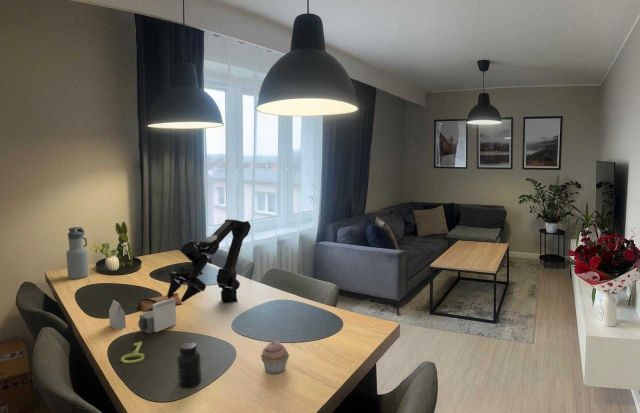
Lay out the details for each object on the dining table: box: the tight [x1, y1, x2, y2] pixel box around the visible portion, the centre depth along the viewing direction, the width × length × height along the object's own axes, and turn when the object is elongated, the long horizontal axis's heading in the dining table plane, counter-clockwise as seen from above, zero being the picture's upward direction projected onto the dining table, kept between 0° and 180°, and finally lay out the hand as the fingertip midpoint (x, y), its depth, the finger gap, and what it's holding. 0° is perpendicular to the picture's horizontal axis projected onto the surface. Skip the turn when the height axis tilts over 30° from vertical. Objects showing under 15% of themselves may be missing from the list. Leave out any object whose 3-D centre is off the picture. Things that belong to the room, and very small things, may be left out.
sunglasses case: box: [137, 292, 183, 313], centre depth 187 cm, size 18×7×7 cm, turn 125°
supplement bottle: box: [176, 341, 203, 389], centre depth 124 cm, size 7×7×12 cm
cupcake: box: [260, 339, 290, 375], centre depth 132 cm, size 9×9×10 cm
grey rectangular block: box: [137, 310, 155, 334], centre depth 163 cm, size 11×6×6 cm, turn 144°
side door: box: [152, 298, 177, 333], centre depth 162 cm, size 9×2×11 cm, turn 144°
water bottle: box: [66, 226, 89, 280], centre depth 227 cm, size 10×10×28 cm
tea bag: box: [108, 299, 127, 331], centre depth 164 cm, size 4×7×10 cm, turn 46°
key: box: [120, 341, 146, 364], centre depth 142 cm, size 7×12×2 cm, turn 27°
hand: (174, 299), depth 165 cm, fingers open, 9 cm apart
